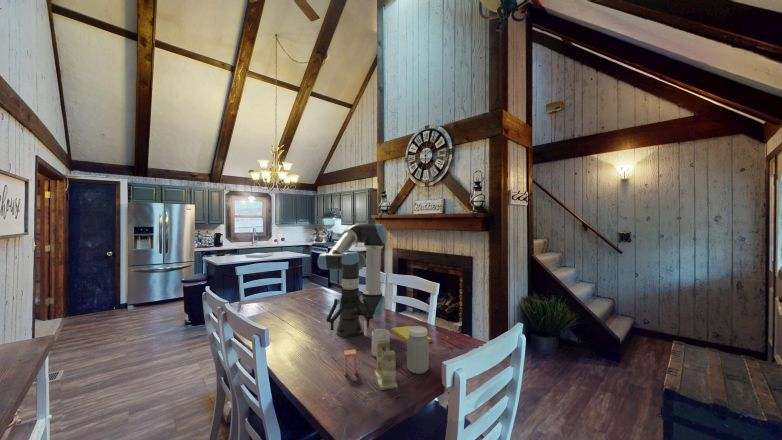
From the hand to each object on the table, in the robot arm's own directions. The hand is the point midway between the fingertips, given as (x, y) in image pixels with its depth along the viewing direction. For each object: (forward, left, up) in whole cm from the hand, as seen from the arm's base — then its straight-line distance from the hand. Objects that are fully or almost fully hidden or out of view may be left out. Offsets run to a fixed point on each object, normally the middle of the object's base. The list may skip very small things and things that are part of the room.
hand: (350, 336), depth 128 cm
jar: (+4, +30, -16) cm, 34 cm away
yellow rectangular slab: (-32, +38, -17) cm, 53 cm away
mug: (-15, +17, -16) cm, 28 cm away
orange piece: (0, 0, -16) cm, 16 cm away
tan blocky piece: (+9, +14, -16) cm, 23 cm away
